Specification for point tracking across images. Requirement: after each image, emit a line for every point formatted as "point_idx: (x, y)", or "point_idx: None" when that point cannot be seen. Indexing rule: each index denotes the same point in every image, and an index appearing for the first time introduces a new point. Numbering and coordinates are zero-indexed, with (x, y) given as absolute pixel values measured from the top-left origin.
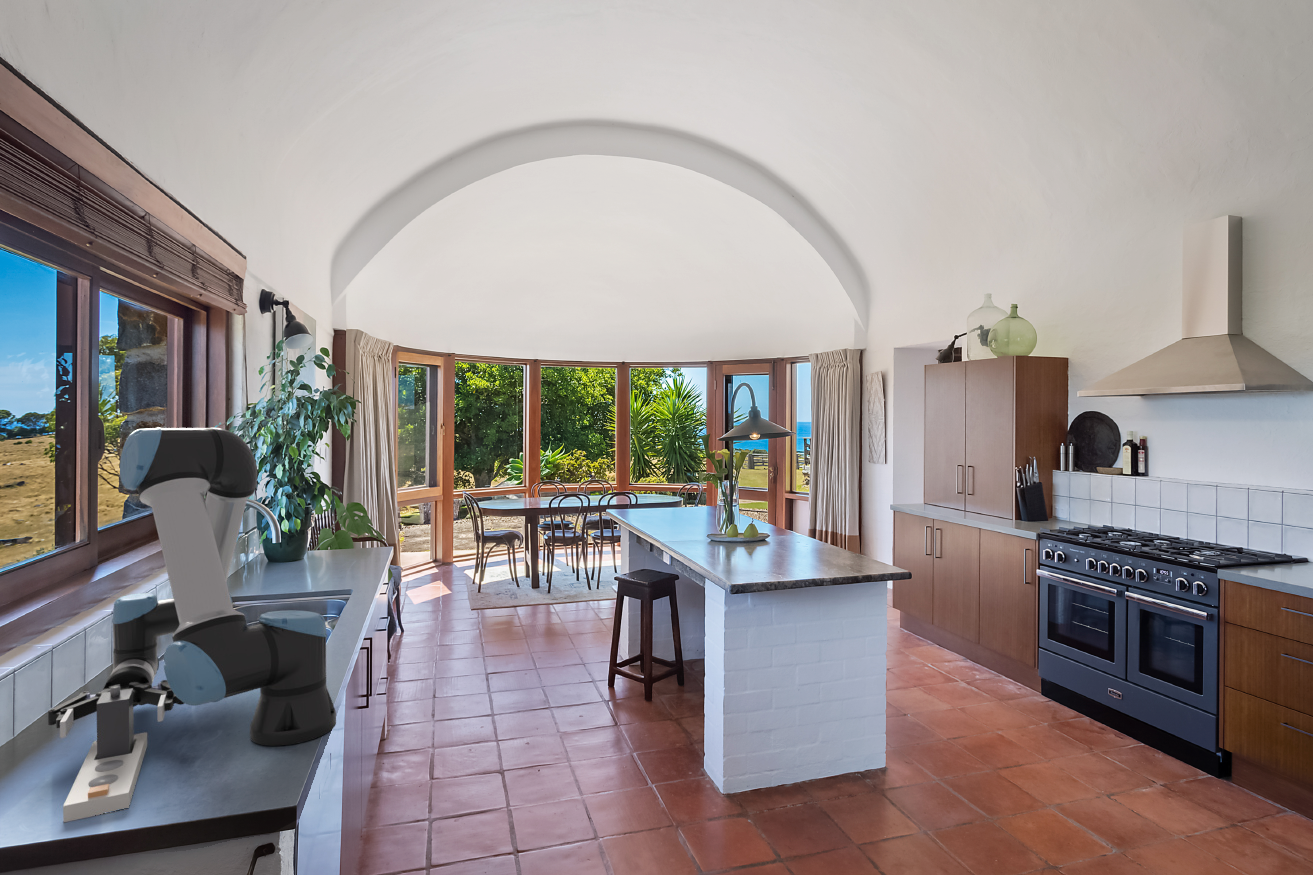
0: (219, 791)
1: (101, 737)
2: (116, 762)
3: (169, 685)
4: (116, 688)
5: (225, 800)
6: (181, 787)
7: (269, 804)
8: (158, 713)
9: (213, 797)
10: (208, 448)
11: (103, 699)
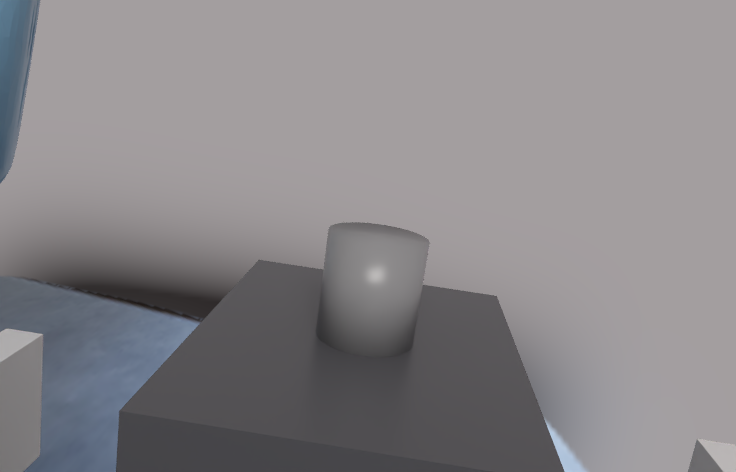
0: (46, 358)
1: None
2: None
3: (16, 108)
4: (365, 227)
5: (67, 328)
6: (110, 421)
7: (15, 286)
8: (34, 392)
9: (78, 347)
10: None
11: (466, 326)
